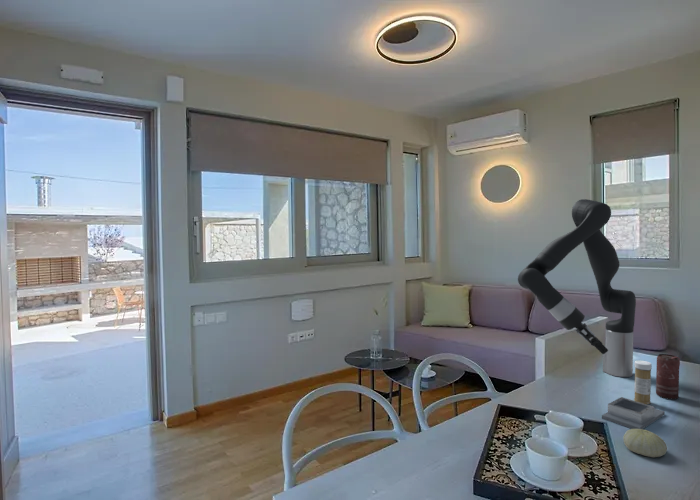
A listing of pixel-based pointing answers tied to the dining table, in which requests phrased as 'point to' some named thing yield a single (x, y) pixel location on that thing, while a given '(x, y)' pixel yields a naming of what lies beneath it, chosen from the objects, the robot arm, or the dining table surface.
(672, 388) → the can
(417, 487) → the dining table surface
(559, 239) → the robot arm
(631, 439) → the sea urchin shell
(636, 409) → the collar
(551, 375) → the dining table surface
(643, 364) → the sprinkles bottle
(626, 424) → the slate board
